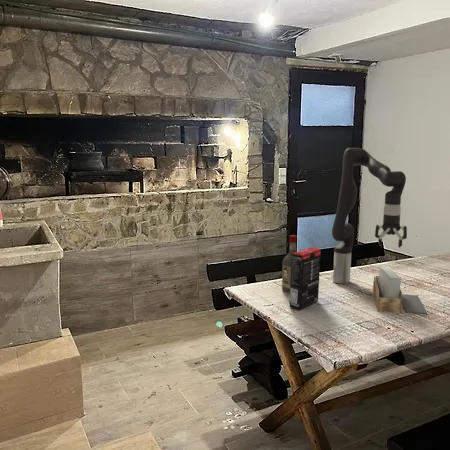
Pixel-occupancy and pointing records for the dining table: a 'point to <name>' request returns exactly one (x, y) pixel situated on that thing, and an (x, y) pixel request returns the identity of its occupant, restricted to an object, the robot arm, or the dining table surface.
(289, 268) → the liquor
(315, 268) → the graphics card box
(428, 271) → the dining table surface
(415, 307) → the mat
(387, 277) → the skincare box
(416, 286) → the dining table surface
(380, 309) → the carton
